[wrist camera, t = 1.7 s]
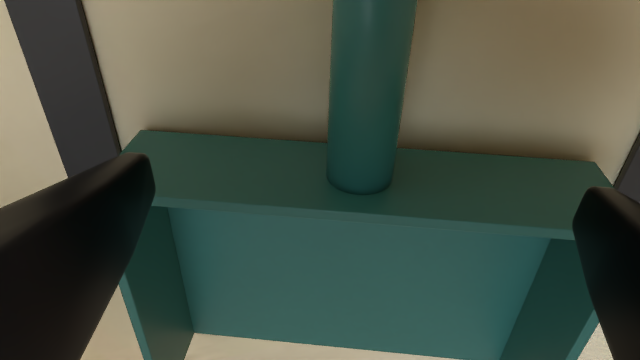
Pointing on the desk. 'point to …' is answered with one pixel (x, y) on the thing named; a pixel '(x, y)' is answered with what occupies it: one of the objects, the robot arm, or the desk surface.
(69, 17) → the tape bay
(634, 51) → the desk surface
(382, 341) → the dustpan
